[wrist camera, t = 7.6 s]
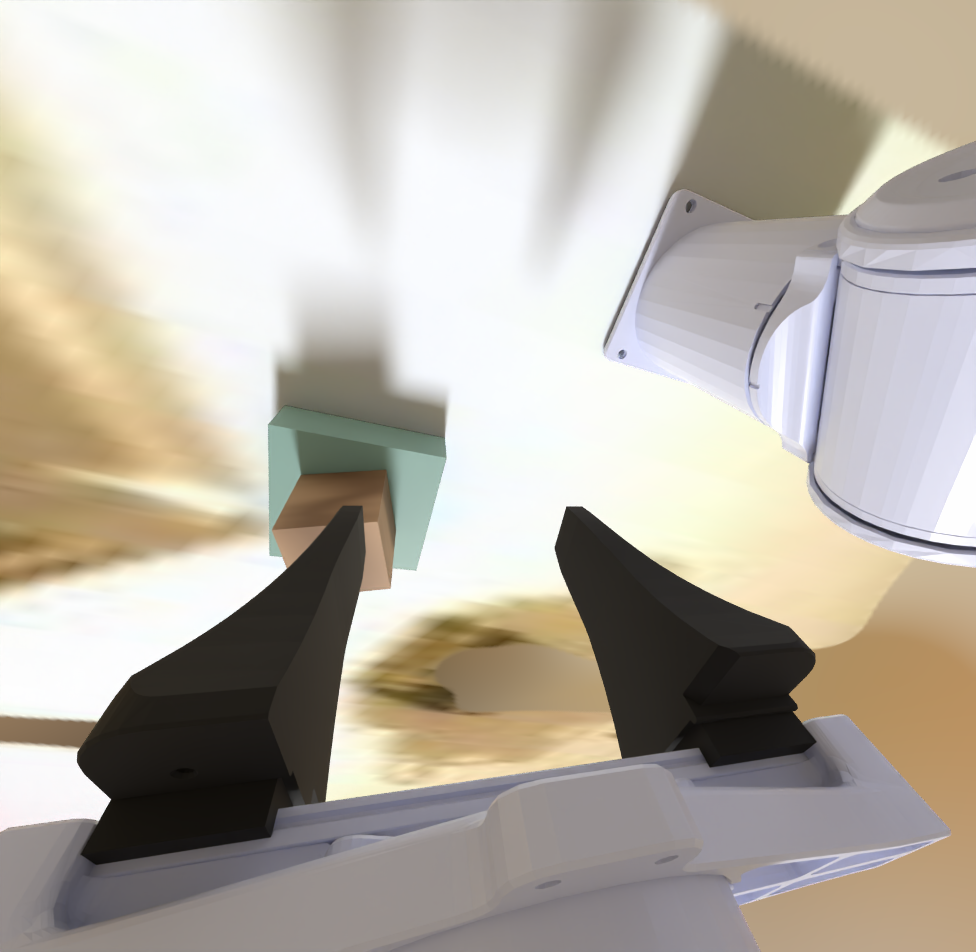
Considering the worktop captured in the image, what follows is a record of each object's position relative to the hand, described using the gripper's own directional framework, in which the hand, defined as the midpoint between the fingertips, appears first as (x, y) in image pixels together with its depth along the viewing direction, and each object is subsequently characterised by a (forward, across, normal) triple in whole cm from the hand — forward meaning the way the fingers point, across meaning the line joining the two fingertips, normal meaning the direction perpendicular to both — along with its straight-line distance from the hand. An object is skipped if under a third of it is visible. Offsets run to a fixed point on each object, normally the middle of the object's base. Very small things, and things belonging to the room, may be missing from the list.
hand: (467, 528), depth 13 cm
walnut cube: (+8, +6, +5) cm, 11 cm away
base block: (+11, +5, +5) cm, 13 cm away
